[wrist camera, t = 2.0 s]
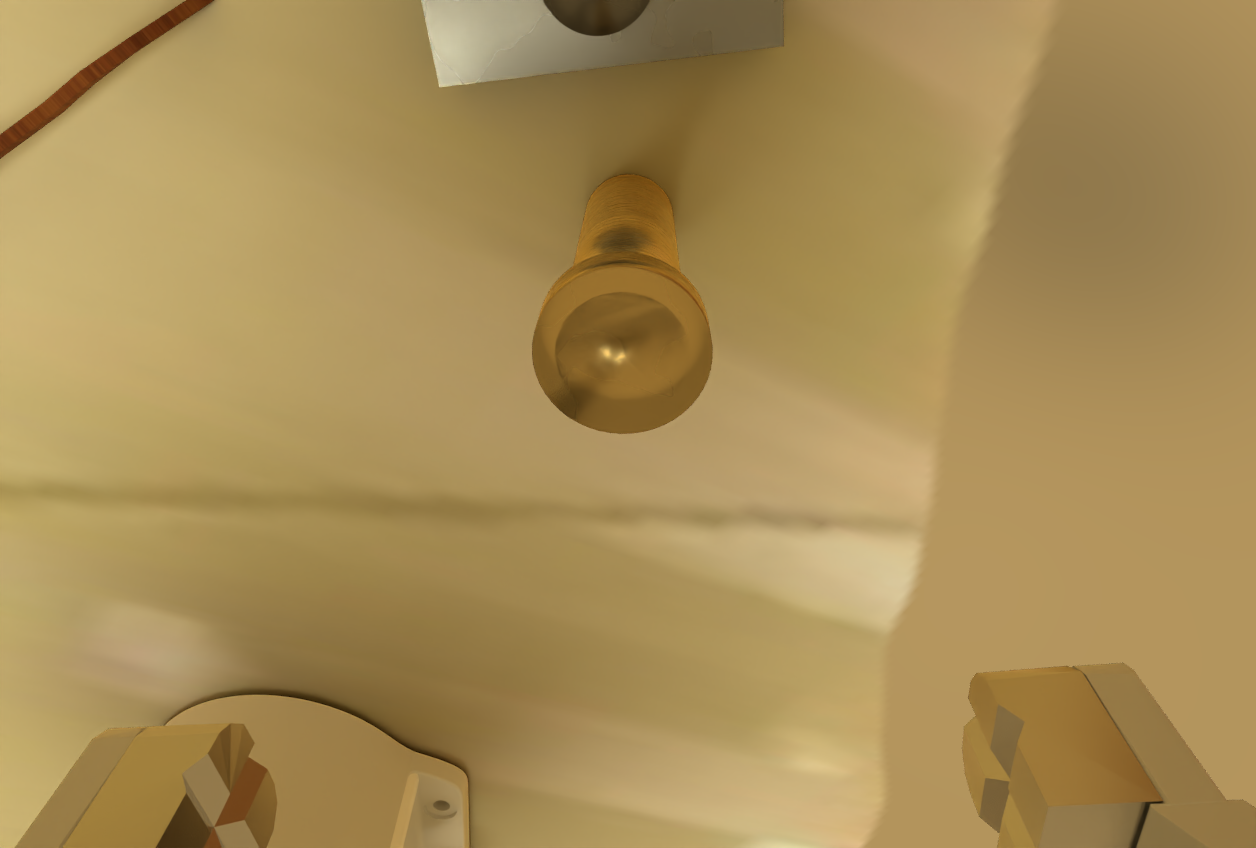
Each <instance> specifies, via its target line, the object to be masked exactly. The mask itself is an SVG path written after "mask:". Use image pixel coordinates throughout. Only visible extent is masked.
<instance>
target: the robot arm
mask: <svg viewBox="0 0 1256 848" xmlns="http://www.w3.org/2000/svg"><path fill="white" fill-rule="evenodd" d="M968 699H969V701H970V704H971V706H972V708H973V711H974V713H975V715H976V716H975V717H974V718H973V719H971V720H970V721H969V722H968V723H967V724H966V725H965V726H964V731H963V741H962V753H963V762H964V771H965V776H966V779H967V783H968V787H969V791H970V794H971V797H972V799H973V802H974V805H975V807H976V810H977V813H978V815H979V817H980V818H981V819H983V820H984V821H985V822H986V823H987V824H988V825H990V826H991V827H992V828H993V829H995V830H996V831H997V832H998V833H999V840H998V845H997V848H1256V808H1255V807H1254V806H1252V805H1251V804H1249V803H1248V802H1246V801H1244V800H1226V799H1225V797H1224V796H1223V794H1222V793H1221V792H1220V790H1219V789H1218V787H1217V786H1216V785H1215V783H1214V782H1213V780H1212V779H1211V777H1210V776H1209V775H1208V773H1207V772H1206V770H1205V769H1204V768H1203V766H1202V765H1201V763H1200V762H1199V761H1198V759H1197V758H1196V756H1195V755H1194V754H1193V752H1192V751H1191V749H1190V748H1189V747H1188V745H1187V744H1186V742H1185V741H1184V740H1183V738H1182V737H1181V736H1180V734H1179V733H1178V731H1177V730H1176V728H1175V727H1174V726H1173V724H1172V723H1171V721H1170V720H1169V719H1168V717H1167V716H1166V714H1165V713H1164V712H1163V710H1162V709H1161V708H1160V706H1159V705H1158V703H1157V702H1156V700H1155V699H1154V698H1153V696H1152V695H1151V694H1150V692H1149V691H1148V689H1147V688H1146V686H1145V685H1144V684H1143V682H1142V681H1141V679H1140V678H1139V677H1138V675H1137V674H1136V672H1135V671H1134V670H1133V669H1132V668H1130V667H1129V666H1127V665H1126V664H1124V663H1111V664H1097V665H1082V666H1073V667H1068V666H1060V667H1048V668H1035V669H1022V670H1009V671H996V672H983V673H976V674H975V676H974V677H973V678H972V680H971V682H970V688H969V695H968ZM15 848H470V841H469V800H468V779H467V776H466V774H465V773H464V772H463V771H462V770H461V769H460V768H458V767H456V766H454V765H452V764H450V763H447V762H445V761H442V760H439V759H436V758H433V757H430V756H427V755H424V754H421V753H418V752H414V751H412V750H410V749H408V748H406V747H405V746H403V745H401V744H400V743H398V742H397V741H395V740H394V739H392V738H391V737H390V736H388V735H387V734H385V733H384V732H382V731H381V730H379V729H378V728H376V727H374V726H373V725H371V724H369V723H367V722H365V721H364V720H362V719H360V718H357V717H355V716H353V715H351V714H349V713H346V712H344V711H341V710H339V709H336V708H333V707H330V706H327V705H323V704H320V703H316V702H312V701H308V700H303V699H298V698H292V697H285V696H276V695H240V696H231V697H224V698H219V699H215V700H211V701H207V702H204V703H201V704H198V705H196V706H193V707H191V708H189V709H187V710H185V711H183V712H181V713H180V714H178V715H177V716H175V717H174V718H173V719H171V720H170V721H169V722H168V723H167V724H166V725H165V726H149V727H132V728H111V729H107V730H106V731H104V732H103V733H101V734H100V735H98V736H97V737H95V738H94V739H92V741H91V742H90V743H89V745H88V746H87V747H86V749H85V750H84V752H83V753H82V754H81V756H80V757H79V759H78V760H77V761H76V763H75V764H74V766H73V767H72V768H71V770H70V771H69V773H68V774H67V775H66V777H65V778H64V780H63V781H62V782H61V784H60V785H59V787H58V788H57V789H56V791H55V792H54V794H53V795H52V796H51V798H50V799H49V801H48V802H47V803H46V805H45V806H44V808H43V809H42V810H41V812H40V813H39V815H38V816H37V817H36V819H35V820H34V822H33V823H32V824H31V826H30V827H29V828H28V830H27V831H26V833H25V834H24V835H23V837H22V838H21V840H20V841H19V842H18V844H17V845H16V847H15Z"/></svg>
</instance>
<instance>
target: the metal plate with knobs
mask: <svg viewBox="0 0 1256 848" xmlns="http://www.w3.org/2000/svg"><path fill="white" fill-rule="evenodd" d="M421 2H422V7H423V12H424V17H425V21H426V26H427V31H428V36H429V40H430V45H431V50H432V54H433V59H434V64H435V69H436V73H437V78H438V83H439V87H446V86H454V85H463V84H471V83H480V82H488V81H496V80H505V79H513V78H521V77H530V76H538V75H546V74H555V73H563V72H571V71H580V70H588V69H597V68H605V67H613V66H622V65H630V64H638V63H647V62H655V61H663V60H672V59H680V58H689V57H697V56H705V55H714V54H722V53H730V52H739V51H747V50H755V49H764V48H772V47H781V46H784V21H783V0H421Z"/></svg>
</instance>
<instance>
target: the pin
mask: <svg viewBox="0 0 1256 848" xmlns="http://www.w3.org/2000/svg"><path fill="white" fill-rule="evenodd" d="M532 357H533V365H534V369H535V372H536V376H537V378H538V381H539V383H540V385H541V387H542V389H543V390H544V392H545V394H546V395H547V396H548V398H549V399H550V400H551V402H552V403H553V404H554V405H555V406H556V407H557V408H558V409H559V410H560V411H562V412H563V413H564V414H565V415H567V416H568V417H569V418H571V419H573V420H574V421H576V422H578V423H580V424H582V425H584V426H586V427H589V428H592V429H595V430H598V431H603V432H608V433H618V434H627V433H638V432H644V431H648V430H651V429H655V428H657V427H660V426H662V425H665V424H667V423H668V422H670V421H672V420H674V419H675V418H677V417H678V416H680V415H681V414H682V413H683V412H685V411H686V410H687V409H688V408H689V407H690V406H691V405H692V404H693V403H694V401H695V400H696V399H697V398H698V396H699V395H700V393H701V392H702V390H703V388H704V386H705V384H706V382H707V380H708V376H709V373H710V370H711V364H712V340H711V334H710V329H709V323H708V318H707V314H706V310H705V307H704V304H703V302H702V300H701V297H700V295H699V294H698V292H697V291H696V289H695V287H694V286H693V285H692V284H691V282H690V281H689V280H688V279H687V278H686V277H685V276H684V275H683V274H682V273H681V272H680V266H679V258H678V250H677V242H676V234H675V226H674V218H673V210H672V206H671V203H670V201H669V198H668V197H667V195H666V193H665V192H664V191H663V190H662V188H661V187H660V186H658V185H657V184H656V183H655V182H653V181H652V180H650V179H648V178H646V177H643V176H639V175H633V174H624V175H619V176H615V177H612V178H610V179H608V180H606V181H605V182H603V183H602V184H601V185H600V186H599V187H598V188H597V189H596V190H595V191H594V192H593V194H592V195H591V197H590V199H589V201H588V204H587V207H586V211H585V216H584V220H583V225H582V229H581V233H580V238H579V242H578V246H577V251H576V255H575V260H574V264H573V267H571V268H570V269H569V270H567V271H566V272H565V273H564V274H563V275H562V276H561V277H560V278H559V279H558V280H557V281H556V282H555V283H554V285H553V286H552V288H551V289H550V291H549V292H548V294H547V296H546V298H545V300H544V302H543V305H542V308H541V311H540V315H539V318H538V322H537V325H536V328H535V332H534V337H533V343H532Z"/></svg>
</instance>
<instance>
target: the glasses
mask: <svg viewBox="0 0 1256 848" xmlns="http://www.w3.org/2000/svg"><path fill="white" fill-rule="evenodd" d="M212 1H214V0H186V1H185V2H183V3H182V4H180V5H178V6H177V7H175V8H174V9H172V10H171V11H169V12H168V13H166V14H165V15H163V16H162V17H160V18H159V19H157V20H155V21H154V22H152V23H151V24H149V25H148V26H146V27H145V28H143V29H142V30H140V31H139V32H137V33H136V34H134V35H132V36H131V37H129V38H128V39H126V40H125V41H124V42H122V43H121V44H119V45H118V46H116V47H115V48H113V49H112V50H110V51H109V52H107V53H106V54H105V55H103V56H102V57H100V58H99V59H97V60H96V61H94V62H93V63H91V64H90V65H89V66H87V67H86V68H84V69H83V70H81V71H80V72H79V73H77V74H76V75H75V76H74V77H73V78H72V79H70V80H69V81H68V82H67V83H66V84H65V85H63V86H62V87H61V88H60V89H59V90H58V91H56V92H55V93H54V94H53V95H52V96H51V97H49V98H48V99H47V100H46V101H45V102H43V103H42V104H41V105H39V106H38V107H37V108H35V109H34V110H33V111H31V112H30V113H29V114H27V115H26V116H25V117H23V118H22V119H21V120H19V121H18V122H17V123H15V124H14V125H13V126H11V127H10V128H9V129H7V130H6V131H5V132H3V133H2V134H1V135H0V159H1V158H2V157H3V156H5V155H6V154H7V153H9V152H10V151H11V150H13V149H14V148H15V147H17V146H18V145H20V144H21V143H22V142H24V141H25V140H26V139H28V138H29V137H30V136H32V135H33V134H34V133H36V132H37V131H38V130H40V129H41V128H43V127H44V126H45V125H47V124H48V123H49V122H51V121H52V120H53V119H55V118H56V117H57V116H59V115H60V114H61V113H63V112H64V111H65V110H66V109H67V108H68V107H69V106H71V105H72V104H73V103H74V102H75V101H76V100H77V99H78V98H79V97H81V96H82V95H83V94H84V93H85V92H86V91H87V90H88V89H89V88H91V87H92V86H93V85H94V84H95V83H96V82H98V81H99V80H100V79H102V78H103V77H104V76H106V75H107V74H108V73H109V72H111V71H112V70H113V69H115V68H116V67H117V66H119V65H120V64H121V63H123V62H124V61H125V60H126V59H128V58H129V57H130V56H132V55H133V54H134V53H136V52H137V51H139V50H140V49H142V48H143V47H145V46H146V45H148V44H149V43H151V42H152V41H154V40H155V39H157V38H158V37H160V36H161V35H163V34H164V33H166V32H167V31H169V30H170V29H172V28H173V27H175V26H176V25H178V24H180V23H181V22H183V21H184V20H186V19H187V18H189V17H190V16H192V15H193V14H195V13H196V12H198V11H199V10H201V9H202V8H203V7H205V6H206V5H208V4H209V3H211V2H212Z"/></svg>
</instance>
